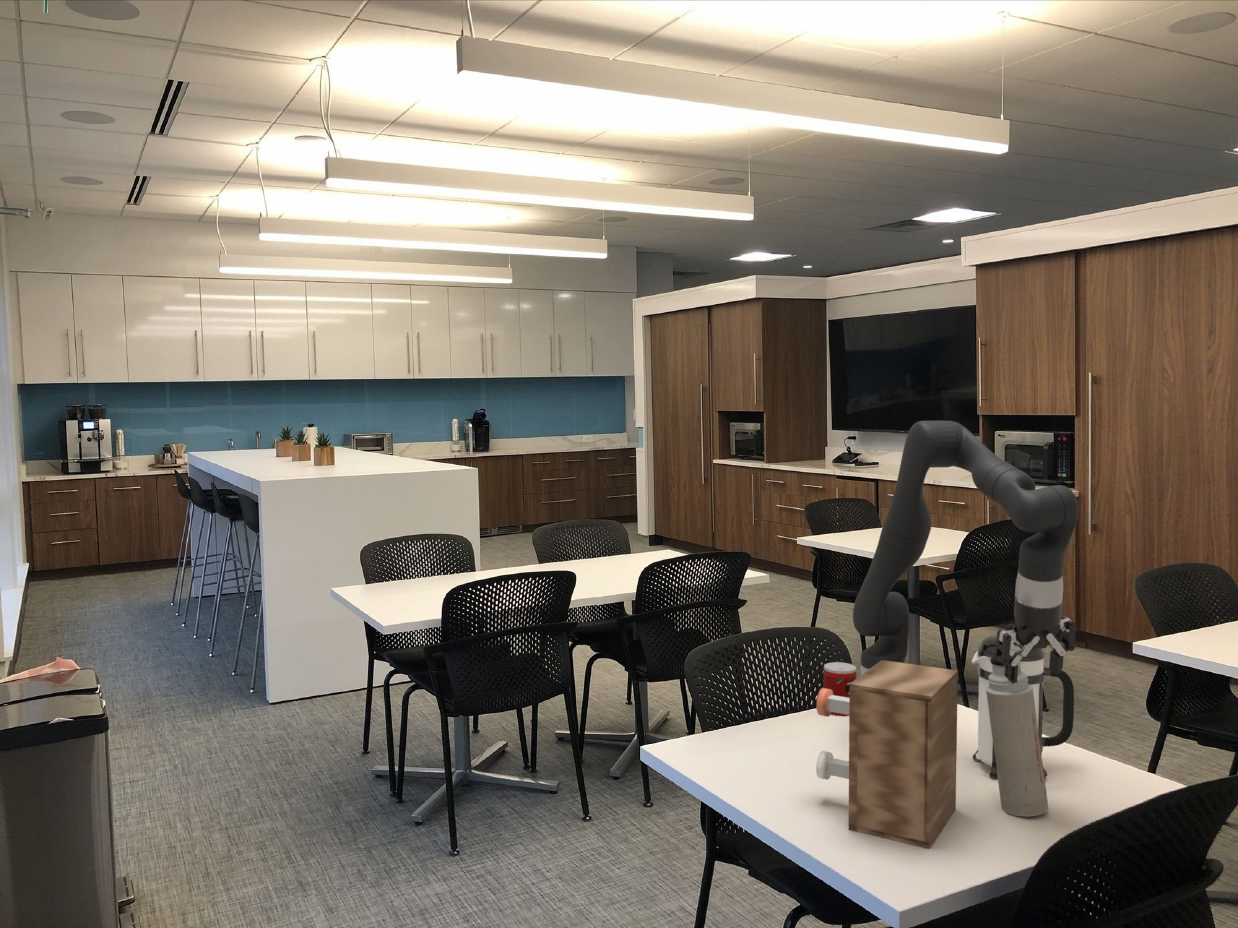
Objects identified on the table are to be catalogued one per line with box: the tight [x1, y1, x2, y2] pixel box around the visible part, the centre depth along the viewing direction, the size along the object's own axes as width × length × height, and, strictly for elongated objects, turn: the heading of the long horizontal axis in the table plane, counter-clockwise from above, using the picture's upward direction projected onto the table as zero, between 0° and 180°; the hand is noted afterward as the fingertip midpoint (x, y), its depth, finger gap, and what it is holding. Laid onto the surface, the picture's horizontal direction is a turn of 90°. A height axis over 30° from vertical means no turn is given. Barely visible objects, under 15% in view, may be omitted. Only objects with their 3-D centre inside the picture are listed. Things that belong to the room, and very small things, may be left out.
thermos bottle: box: [986, 655, 1049, 817], centre depth 176 cm, size 8×8×28 cm
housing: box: [848, 660, 959, 849], centre depth 173 cm, size 14×18×26 cm
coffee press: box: [971, 623, 1075, 780], centre depth 196 cm, size 17×16×30 cm
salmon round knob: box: [816, 687, 849, 717], centre depth 177 cm, size 14×5×5 cm, turn 57°
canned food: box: [823, 661, 857, 717], centre depth 233 cm, size 8×8×11 cm
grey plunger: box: [815, 750, 849, 781], centre depth 178 cm, size 14×5×5 cm, turn 57°
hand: (1033, 676), depth 173 cm, fingers open, 8 cm apart
